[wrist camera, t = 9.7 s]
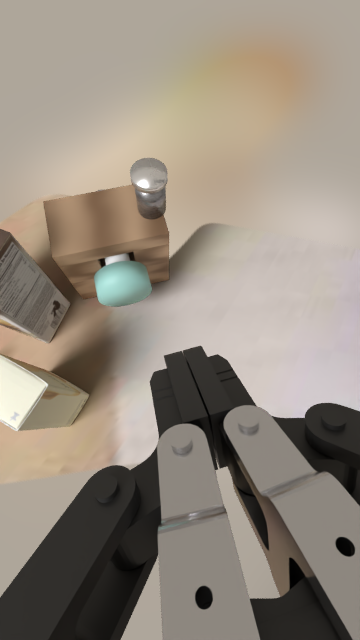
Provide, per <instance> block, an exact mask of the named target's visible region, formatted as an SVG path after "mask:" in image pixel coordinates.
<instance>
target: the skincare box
mask: <svg viewBox="0 0 360 640" xmlns="http://www.w3.org/2000/svg"><path fill="white" fill-rule="evenodd" d="M88 397H89V394H87V393H86V392H84V391H83V390H81V389H80V388H78V387H77V386H75V385H73V384H72V383H70V382H68V381H67V380H65V379H63V378H61V377H59V376H57V375H56V374H54V373H52V372H50V371H47V370H44V369H41V368H38V367H35V366H33V365H30V364H27V363H24V362H22V361H19V360H16V359H13V358H11V357H8V356H5V355H2V354H0V421H1V422H2V423H4V424H5V425H7V426H9V427H10V428H12V429H13V430H15V431H23V430H35V429H46V428H58V427H69V426H71V424H72V423H73V421H74V420H75V418H76V417H77V415H78V414H79V412H80V411H81V409H82V407H83V406H84V404H85V402H86V401H87V399H88Z"/></svg>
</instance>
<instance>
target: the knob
mask: <svg viewBox="0 0 360 640" xmlns="http://www.w3.org/2000/svg"><path fill="white" fill-rule="evenodd" d="M98 191H102V190H98ZM104 259H105V263H106V266H104V267H102V268H101V269H99V270H98V271H97V272H96V274H95V276H94V282H95V287H96V292H97V296H98V301H99V302H100V303H101V304H103V305H106V306H125V305H130V304H134V303H136V302H139V301H141V300H143V299H145V298H146V297H148V296H149V295H150V293H151V292H152V287H151V283H150V280H149V276H148V272H147V268H146V267H145V265H143V264H142V263H139V262H136V261H130V258H129V254H128V253H124V254H120V255H115V256H110V257H106V258H104Z"/></svg>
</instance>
